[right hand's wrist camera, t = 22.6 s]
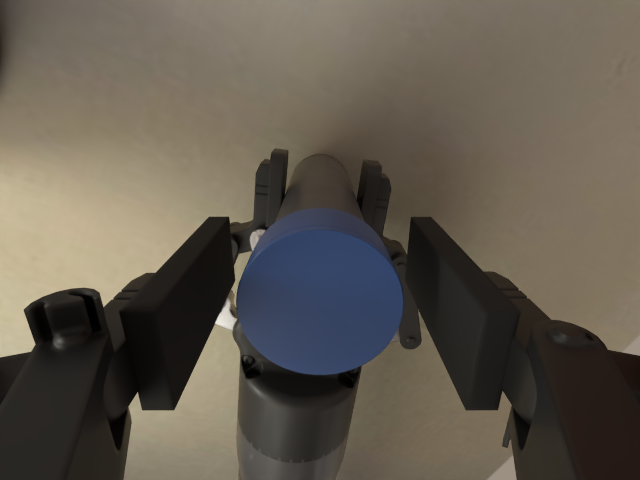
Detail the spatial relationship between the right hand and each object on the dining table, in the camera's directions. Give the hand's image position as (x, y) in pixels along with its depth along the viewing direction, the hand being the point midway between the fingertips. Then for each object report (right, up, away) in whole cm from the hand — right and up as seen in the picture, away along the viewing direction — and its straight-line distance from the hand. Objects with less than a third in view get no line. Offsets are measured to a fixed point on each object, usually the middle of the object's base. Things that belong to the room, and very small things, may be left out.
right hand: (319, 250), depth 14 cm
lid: (0, -1, -4) cm, 4 cm away
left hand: (0, +5, +4) cm, 6 cm away
